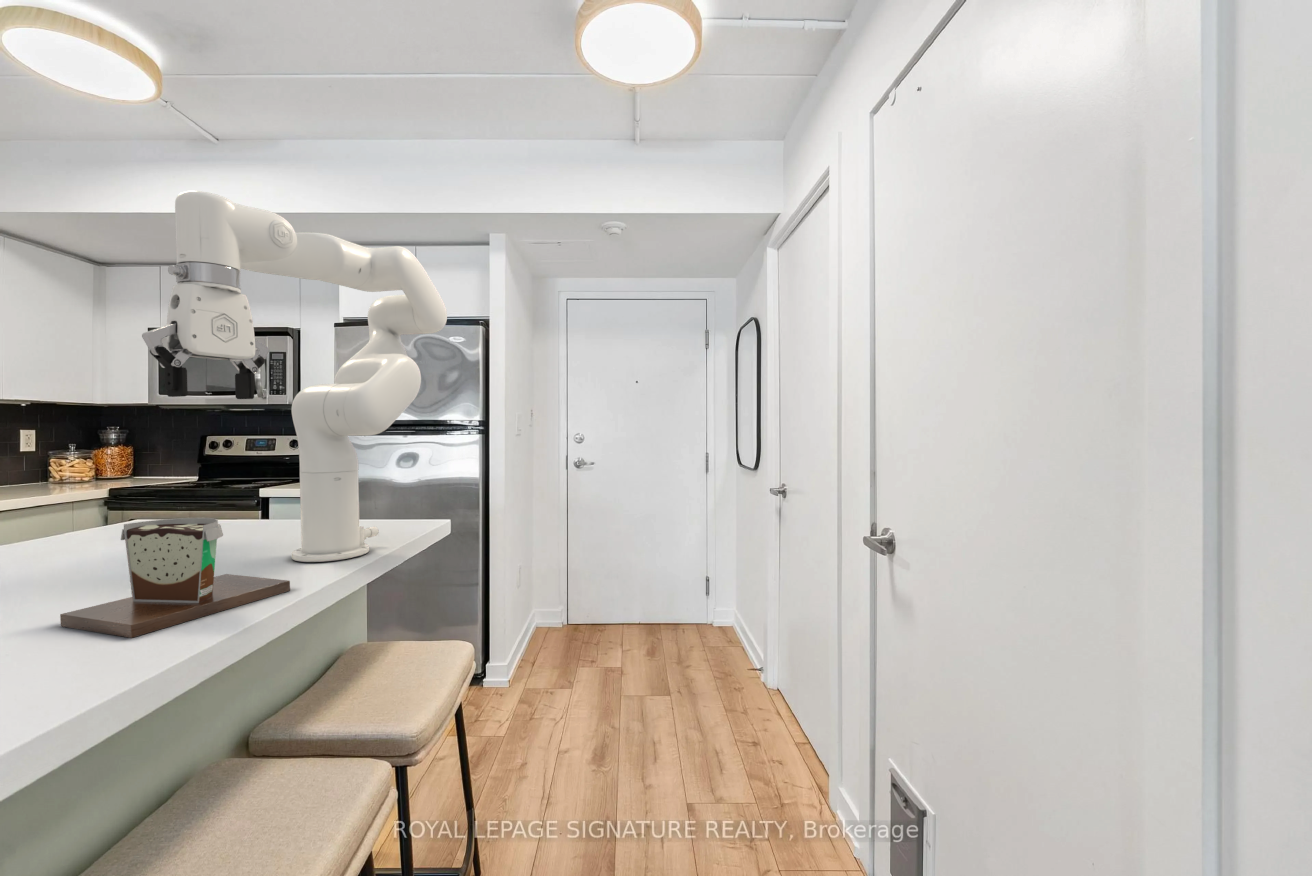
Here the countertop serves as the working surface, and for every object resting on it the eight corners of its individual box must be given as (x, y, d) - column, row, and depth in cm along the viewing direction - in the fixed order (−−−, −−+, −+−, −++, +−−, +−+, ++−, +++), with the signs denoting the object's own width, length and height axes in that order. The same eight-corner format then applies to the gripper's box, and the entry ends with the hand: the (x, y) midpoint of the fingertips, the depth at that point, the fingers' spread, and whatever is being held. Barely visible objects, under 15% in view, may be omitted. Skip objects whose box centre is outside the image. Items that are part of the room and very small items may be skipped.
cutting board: (226, 583, 91) (226, 573, 91) (290, 590, 86) (290, 580, 86) (60, 626, 72) (59, 614, 72) (131, 638, 68) (130, 625, 67)
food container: (247, 589, 82) (246, 517, 81) (209, 603, 76) (207, 525, 75) (166, 587, 83) (164, 516, 83) (122, 601, 77) (120, 524, 76)
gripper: (161, 264, 78) (165, 394, 78) (282, 291, 94) (285, 399, 95) (124, 269, 80) (128, 396, 81) (248, 295, 97) (251, 400, 97)
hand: (212, 397), depth 88 cm, fingers open, 9 cm apart
